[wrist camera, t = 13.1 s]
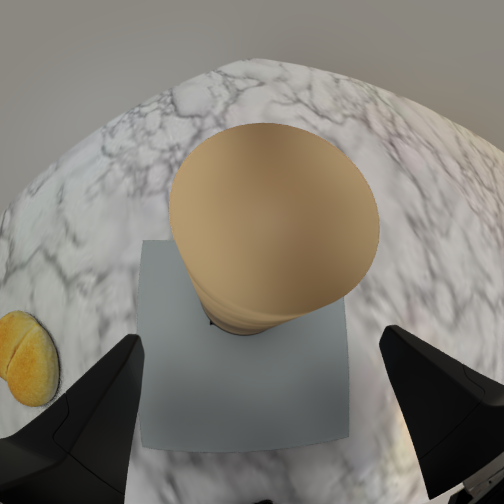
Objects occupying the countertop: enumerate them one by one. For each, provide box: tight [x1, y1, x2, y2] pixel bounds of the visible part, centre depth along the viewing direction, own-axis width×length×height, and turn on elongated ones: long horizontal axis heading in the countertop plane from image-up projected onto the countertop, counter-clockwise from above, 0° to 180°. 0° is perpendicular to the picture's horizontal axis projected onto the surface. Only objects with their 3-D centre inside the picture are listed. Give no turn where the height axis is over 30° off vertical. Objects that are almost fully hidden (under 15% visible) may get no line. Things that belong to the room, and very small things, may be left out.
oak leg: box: [169, 123, 380, 336], centre depth 15 cm, size 6×6×15 cm
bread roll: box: [0, 311, 59, 407], centre depth 15 cm, size 8×9×4 cm
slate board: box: [137, 240, 349, 453], centre depth 20 cm, size 16×16×2 cm
